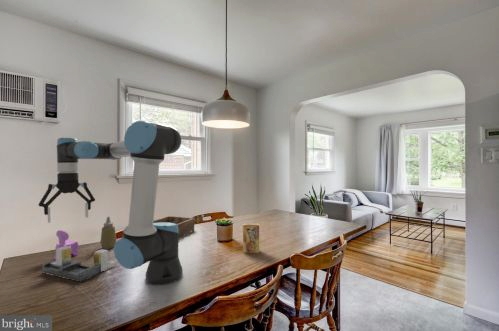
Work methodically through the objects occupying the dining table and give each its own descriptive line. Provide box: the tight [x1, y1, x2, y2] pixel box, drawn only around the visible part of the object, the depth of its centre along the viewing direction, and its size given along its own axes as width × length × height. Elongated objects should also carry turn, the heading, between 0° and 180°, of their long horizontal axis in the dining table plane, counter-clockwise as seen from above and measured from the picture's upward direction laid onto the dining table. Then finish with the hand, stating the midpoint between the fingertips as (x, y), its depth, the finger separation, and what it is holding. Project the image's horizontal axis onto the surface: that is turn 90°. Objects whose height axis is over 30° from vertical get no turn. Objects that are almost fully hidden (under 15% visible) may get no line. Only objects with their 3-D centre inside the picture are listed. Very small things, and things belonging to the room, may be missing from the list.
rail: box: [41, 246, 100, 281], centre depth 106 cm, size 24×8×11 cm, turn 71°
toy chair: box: [53, 229, 79, 259], centre depth 125 cm, size 8×9×15 cm
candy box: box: [242, 223, 260, 254], centre depth 133 cm, size 9×4×15 cm, turn 92°
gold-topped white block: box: [93, 248, 117, 273], centre depth 111 cm, size 8×4×9 cm, turn 161°
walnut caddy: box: [153, 215, 195, 239], centre depth 164 cm, size 22×31×9 cm
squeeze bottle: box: [100, 216, 117, 250], centre depth 139 cm, size 8×8×18 cm
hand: (68, 219), depth 108 cm, fingers open, 13 cm apart
